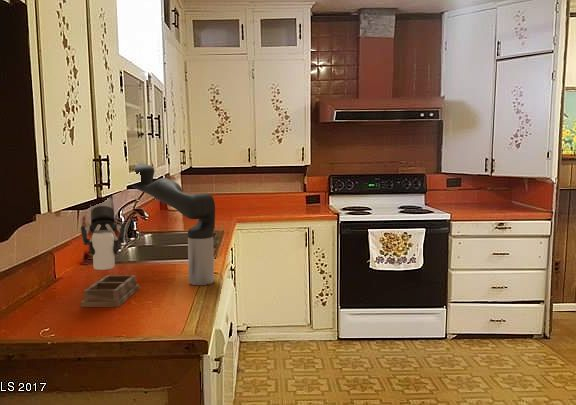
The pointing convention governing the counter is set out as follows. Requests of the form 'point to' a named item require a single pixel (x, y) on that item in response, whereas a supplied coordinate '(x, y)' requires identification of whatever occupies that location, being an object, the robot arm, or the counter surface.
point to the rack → (110, 291)
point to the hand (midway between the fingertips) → (104, 253)
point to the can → (103, 250)
